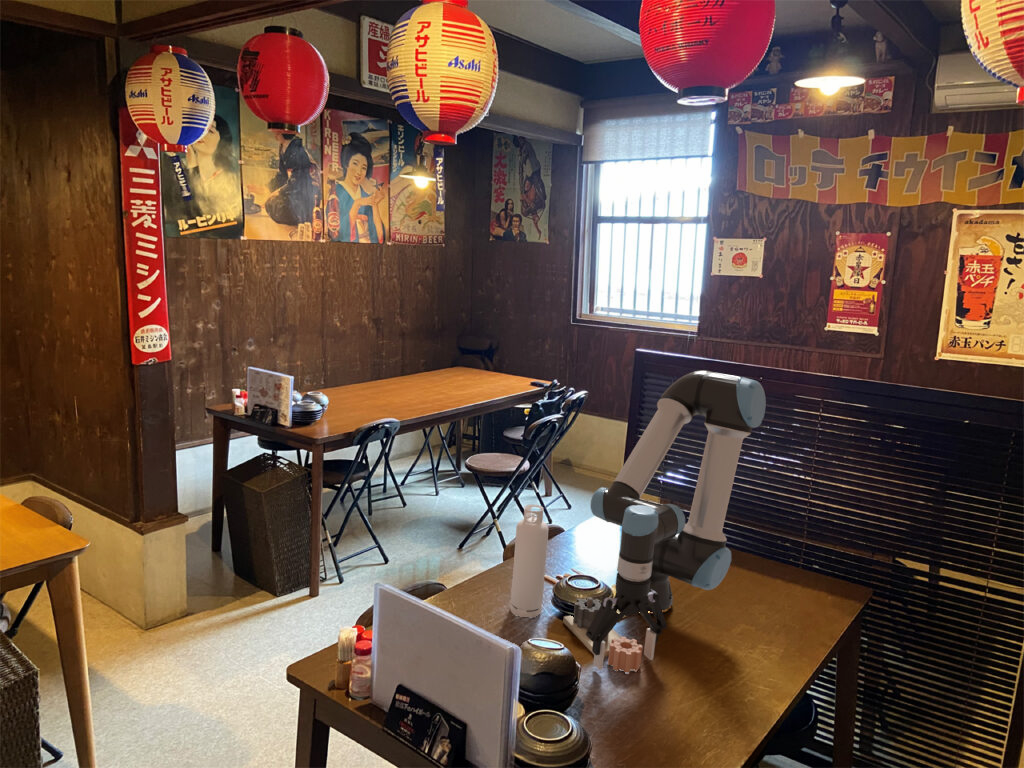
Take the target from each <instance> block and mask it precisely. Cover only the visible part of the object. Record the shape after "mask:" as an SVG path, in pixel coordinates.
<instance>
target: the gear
mask: <svg viewBox="0 0 1024 768" xmlns="http://www.w3.org/2000/svg"><path fill="white" fill-rule="evenodd" d="M643 649H644V648H643V645H642V644H638V640H637V639H635V638H631V639H629V638H627V637H626V636H621V639H616V638H613V639H612V641H611V643H610V647H609V656H608V657H607V659H608V660H607V664H608V665H607V666H609V665H613V666H612V670H613V669H614V670H616V671H617V670H619V669H621V670H624V672H630V669H635V670H637V669H639V670H640V667H639V665H640V664H642V654H643ZM640 666H641V665H640ZM624 672H623V673H624ZM630 673H631V672H630Z"/></svg>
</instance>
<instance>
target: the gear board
mask: <svg viewBox="0 0 1024 768" xmlns="http://www.w3.org/2000/svg"><path fill="white" fill-rule="evenodd" d="M587 597H588V598H587V600H586V598H581V599H580V597H579V598H577V599H576V602H574V608H573V615H574V617H573V616H571V615H565V616H563V620H562V621H563V624H564V625H565V626H566V627H567V628H568V629H569V630H570V631H571V632H572V633H573V635H575V636H576V638H577V639H578V640H579V641H580V642H581V643H582V644H583V645H584V646H585V647H586V648H587V650H589V652H591V654H593V655H594V653H593V651H592V647H593V641H591V640H590V639H589V638H588V637H587V636H586V632H587V630H588V629H589V627H590V625H591V623H592V621H593V619H594V617H595V616H596V614H597V612H598V610H599V608H600V606H601V600H600V599H598V598H595V599H594V598H593V597H590V596H587ZM577 602H578V603H577ZM585 605H587V606H585ZM592 606H593V607H592ZM599 636H600V635H599ZM621 637H622V636H621V635H620V634H619V633H618V632H617V631H616V630H615V629H614V628H613V629H612V630H611V631H610V632H609V634H608V635H607V636H606V637H605V639H604V640H603V641H604V642H605V651H604V658H608V657H609V647H610V643H611V641H612V639H613V638H616V639H621Z"/></svg>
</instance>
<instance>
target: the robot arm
mask: <svg viewBox="0 0 1024 768" xmlns="http://www.w3.org/2000/svg"><path fill="white" fill-rule="evenodd" d="M766 399H767V398H766V394H765V389H764V387H763V386H762V384H761V383H760V382H759V381H758V380H754V379H751V378H748V377H745V376H737V375H734V374H733V375H731V374H725V373H721V372H715V371H714V372H713V371H712V370H706V369H705V370H704V369H703V370H695V371H692V372H689V373H686V374H685V375H683V376H681V377H679V378H678V379H677V380H676V381H674V382H672V384H671V385H670V386H669V387H667V389H666V390H665V391H664V392H663V394H662V395H661V396H660V398H659V400H658V401H657V403H656V407H657V409H656V412H655V414H654V415H653V417H652V418H651V420H650V422H649V424H648V425H647V427H646V428H645V430H644V432H643V433H642V435H641V436H640V438H639V439H638V441H637V443H636V445H635V446H634V448H633V449H632V451H631V453H630V454H629V456H628V458H627V459H626V461H625V463H624V464H623V466H622V467H621V469H620V471H619V472H618V474H617V475H616V477H615V479H614V480H613V482H612V484H611V485H610V486H609V487H599V488H598V489H597V490H595V491H594V493H593V494H592V496H591V500H590V511H591V513H592V514H593V516H594V517H596V518H599V519H600V520H602V521H604V522H607V523H611V524H613V525H617V526H621V536H620V547H619V552H618V561H617V567H616V568H617V569H616V570H617V573H616V578H615V584H614V585H615V587H614V588H615V594H614V597H608V596H606V595H604V596H603V597H602V600H601V602H600V604H601V606H600V608H599V610H598V612H597V614H596V616H595V617H594V619H593V621H592V623H591V625H590V627H589V629H588V630H587V632H586V636H587V637H588V638H589V639H590V640H591V641H593V647H592V651H593V653H594V654H593V653H592V654H593V665H594V666H595V667H596V668H597V669H598V670H601V671H602V670H603V668H604V659H605V657H604V651H605V642H604V641H603V640H604V639H605V637H606V636H607V635H608V634H609V632H610V631H611V630H612V629H613V630H614V627H615V626H616V625H617V624H618V622H619V621H621V620H623V619H624V617H630V616H635V615H639V614H640V615H641V616H642V617H643V619H644V621H645V622H646V623H647V625H648V626H649V628H646V631H645V632H646V633H645V640H644V648H643V649H644V650H643V655H644V656H645V657H646V658H647V659H648V660H649V661H653V660H654V656H655V646H656V645H657V644H658V641H659V640H658V638H659V635H662V634H663V630H666V629H667V628H668V625H667V622H666V619H665V616H664V613H663V612H662V610H665V609H668V608H669V607H670V606H671V605H672V606H673V601H674V599H673V597H674V596H673V591H672V587H671V583H670V577H671V578H674V579H676V580H678V581H681V582H684V583H686V584H689V585H691V586H692V587H694V588H699V589H703V590H706V591H711V590H713V589H715V588H717V587H718V586H719V585H720V584H721V582H723V580H724V578H725V577H726V575H727V574H728V571H729V569H730V565H731V563H732V551H731V550H730V549H729V548H728V547H726V543H727V540H728V539H727V537H726V536H725V534H724V532H723V528H724V524H725V519H726V516H727V511H728V505H729V502H730V498H731V494H732V488H733V484H734V480H735V475H736V471H737V466H738V464H739V463H738V461H739V459H740V454H741V450H742V445H743V440H744V439H745V438H746V437H748V436H750V435H751V433H752V430H753V428H758V427H760V425H761V424H762V423H763V420H764V417H765V413H766V405H767V401H766ZM697 415H700V416H703V417H705V418H704V426H705V427H706V429H707V431H708V433H707V438H706V442H705V445H704V450H703V455H702V458H701V464H700V468H699V473H698V477H697V481H696V486H695V489H694V494H693V495H694V496H693V500H692V503H691V508H690V511H689V512H690V513H689V516H688V521H687V523H686V516H685V514H684V511H683V510H682V509H681V508H680V507H679V506H678V505H676V504H673V503H665V504H660V505H658V504H656V503H652V502H650V501H646V500H643V499H641V497H642V495H643V494H644V492H645V490H646V488H647V487H648V485H649V483H650V482H651V480H652V479H653V476H654V475H655V473H656V471H657V470H658V469H659V467H660V465H661V463H662V461H663V460H664V458H665V456H666V455H667V453H668V451H669V450H670V448H671V446H672V444H673V443H674V441H675V440H676V438H677V436H678V434H679V433H680V431H681V430H682V428H683V426H684V425H686V424H689V423H690V422H691V421H692V419H693V417H694V416H697ZM648 611H650V612H653V614H654V615H653V616H654V618H655V619H654V618H653V617H652V615H650V614H649V613H648ZM618 612H619V613H618ZM639 612H640V613H639ZM599 635H600V636H599Z"/></svg>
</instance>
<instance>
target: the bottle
mask: <svg viewBox="0 0 1024 768" xmlns="http://www.w3.org/2000/svg"><path fill="white" fill-rule="evenodd" d="M532 508H539V509H540V510H538V511H537V510H536V511H535V510H532ZM523 509H524V511H523V518H522V519H521V520H520V521H518V523H517V524H516V526H515V527H516V529H515V541H514V542H515V544H514V558H513V566H512V567H513V570H512V581H511V584H512V585H511V596H510V608H509V609H511V610H510V612H511V613H512V614H513V615H514V614H515V615H514V616H516V615H518V616H521V617H520V618H522V617H534V618H537V617H539V616H540V615H541V614H542V612H541V611H543V605H542V604H543V598H544V587H545V586H544V585H545V572H546V564H547V553H548V552H547V550H548V542H549V541H548V539H549V525H548V524H547V522H545V521H544V507H543V506H541V505H539V504H532V503H531V504H527V505H525V506H524V508H523ZM539 614H540V615H539ZM538 615H539V616H538ZM518 616H517V617H518ZM536 616H537V617H536Z"/></svg>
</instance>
